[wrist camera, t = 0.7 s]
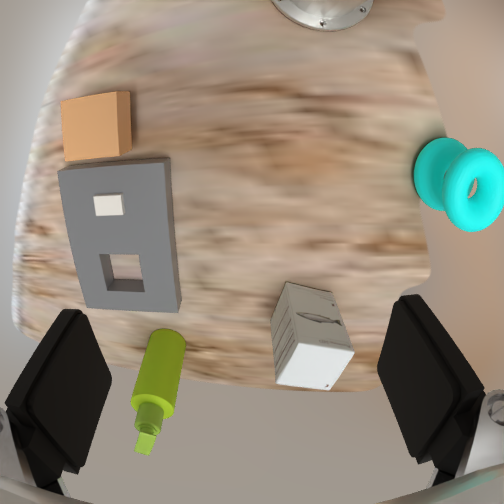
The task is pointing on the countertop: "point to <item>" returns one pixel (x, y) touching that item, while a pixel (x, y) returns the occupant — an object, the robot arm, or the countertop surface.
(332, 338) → the supplement box
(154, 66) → the countertop surface
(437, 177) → the donuts
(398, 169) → the countertop surface
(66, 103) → the plug
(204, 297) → the countertop surface
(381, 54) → the countertop surface
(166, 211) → the socket
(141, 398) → the soap dispenser
